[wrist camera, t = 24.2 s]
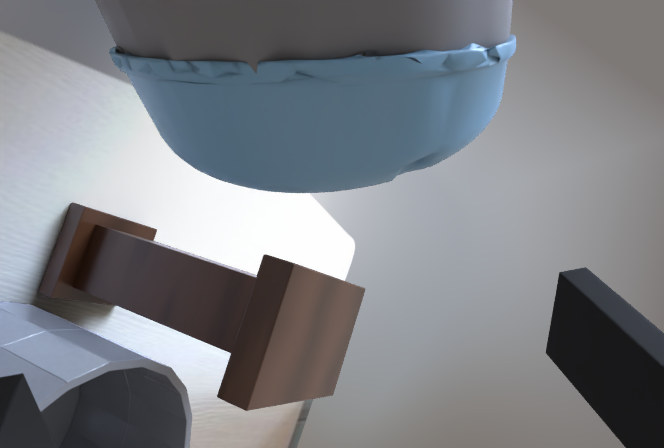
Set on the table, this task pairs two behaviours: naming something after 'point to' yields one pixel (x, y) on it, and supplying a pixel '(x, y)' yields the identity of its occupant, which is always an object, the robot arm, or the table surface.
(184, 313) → the pedestal
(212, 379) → the table surface
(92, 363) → the pot
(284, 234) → the table surface
